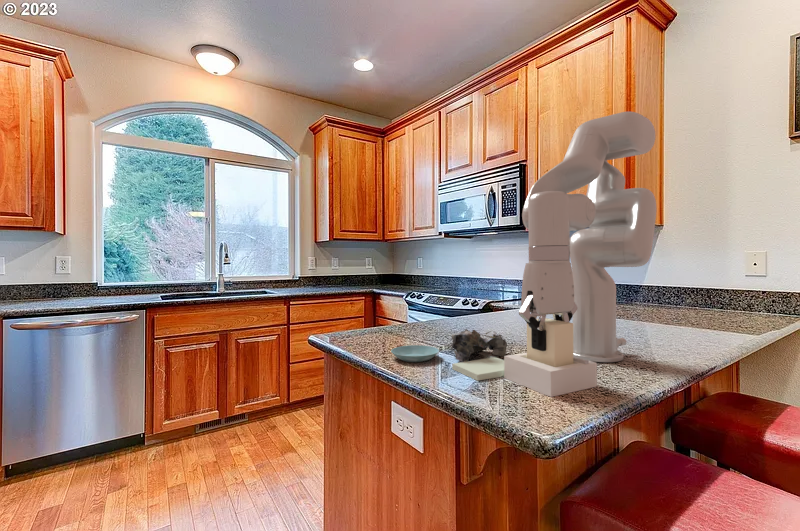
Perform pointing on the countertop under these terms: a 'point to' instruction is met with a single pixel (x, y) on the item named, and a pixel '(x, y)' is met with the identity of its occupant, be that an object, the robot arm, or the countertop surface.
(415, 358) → the saucer
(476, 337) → the foil
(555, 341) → the cream rectangular block
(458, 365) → the pad
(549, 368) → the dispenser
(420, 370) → the countertop surface
